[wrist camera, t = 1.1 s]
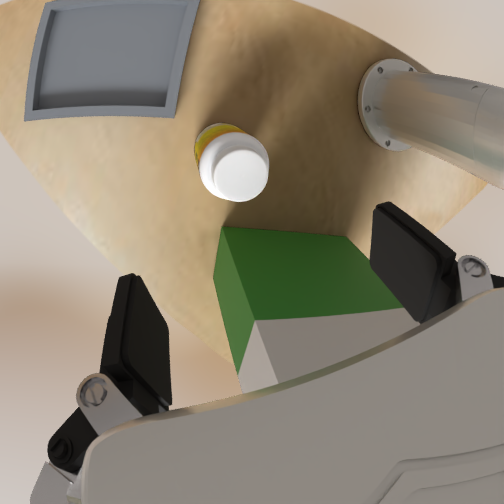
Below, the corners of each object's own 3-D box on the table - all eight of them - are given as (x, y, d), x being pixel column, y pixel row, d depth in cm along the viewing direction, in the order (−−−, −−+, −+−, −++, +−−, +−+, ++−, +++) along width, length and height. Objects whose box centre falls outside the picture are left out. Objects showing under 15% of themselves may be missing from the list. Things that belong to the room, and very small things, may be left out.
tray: (199, 0, 18) (201, -6, 16) (174, 116, 24) (174, 118, 23) (52, 7, 13) (45, 2, 11) (32, 118, 19) (24, 121, 18)
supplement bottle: (182, 143, 26) (185, 168, 18) (228, 111, 25) (254, 121, 17) (213, 183, 29) (230, 226, 21) (256, 154, 29) (292, 184, 20)
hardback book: (346, 236, 38) (460, 366, 18) (329, 279, 41) (418, 410, 22) (221, 226, 32) (296, 430, 13) (213, 278, 36) (264, 464, 16)
